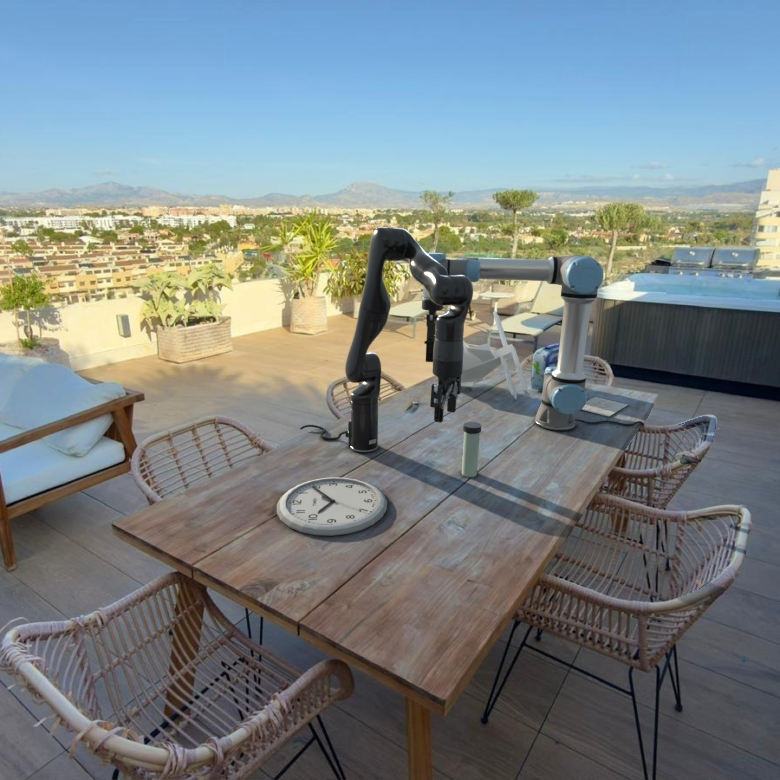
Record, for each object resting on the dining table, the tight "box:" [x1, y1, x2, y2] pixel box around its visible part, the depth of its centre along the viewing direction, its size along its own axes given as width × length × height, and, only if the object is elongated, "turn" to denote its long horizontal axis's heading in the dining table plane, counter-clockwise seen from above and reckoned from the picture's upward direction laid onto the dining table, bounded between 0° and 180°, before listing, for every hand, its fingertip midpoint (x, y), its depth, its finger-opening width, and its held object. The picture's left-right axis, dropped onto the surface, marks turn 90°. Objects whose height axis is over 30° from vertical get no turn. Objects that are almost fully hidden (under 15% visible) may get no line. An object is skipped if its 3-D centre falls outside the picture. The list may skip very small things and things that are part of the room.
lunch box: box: [530, 343, 560, 391], centre depth 249 cm, size 26×11×21 cm, turn 134°
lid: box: [462, 421, 482, 434], centre depth 158 cm, size 5×5×2 cm
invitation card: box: [580, 396, 629, 418], centre depth 226 cm, size 21×1×15 cm
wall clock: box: [276, 476, 388, 537], centre depth 142 cm, size 30×2×30 cm
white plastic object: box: [461, 310, 531, 400], centre depth 245 cm, size 37×45×31 cm
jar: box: [461, 431, 481, 478], centre depth 160 cm, size 5×5×16 cm
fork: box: [405, 396, 421, 411], centre depth 222 cm, size 3×16×2 cm, turn 160°
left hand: (445, 416), depth 137 cm, fingers open, 8 cm apart
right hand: (430, 357), depth 190 cm, fingers open, 13 cm apart
